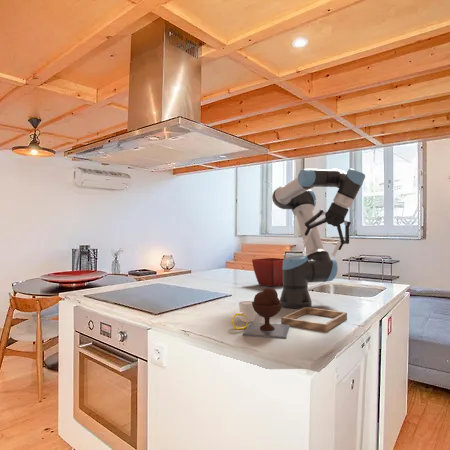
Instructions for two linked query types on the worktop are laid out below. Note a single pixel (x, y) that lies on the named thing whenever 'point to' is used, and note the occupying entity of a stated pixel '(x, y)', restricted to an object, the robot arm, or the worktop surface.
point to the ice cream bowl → (267, 306)
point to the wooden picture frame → (292, 321)
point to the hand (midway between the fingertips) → (318, 249)
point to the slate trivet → (278, 332)
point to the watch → (240, 315)
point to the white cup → (247, 311)
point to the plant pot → (269, 271)
